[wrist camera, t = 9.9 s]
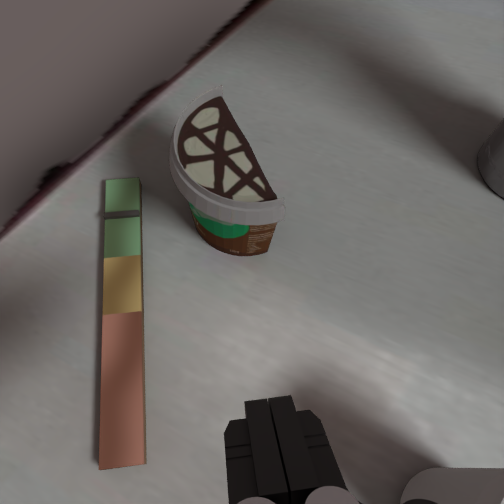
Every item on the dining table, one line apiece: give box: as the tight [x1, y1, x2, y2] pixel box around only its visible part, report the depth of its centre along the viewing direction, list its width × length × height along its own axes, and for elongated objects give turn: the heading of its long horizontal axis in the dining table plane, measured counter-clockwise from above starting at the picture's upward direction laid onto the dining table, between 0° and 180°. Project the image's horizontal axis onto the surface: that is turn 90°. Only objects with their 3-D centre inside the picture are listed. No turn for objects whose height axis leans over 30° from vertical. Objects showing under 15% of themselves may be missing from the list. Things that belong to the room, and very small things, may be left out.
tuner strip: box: [99, 178, 146, 470], centre depth 35 cm, size 3×24×2 cm, turn 7°
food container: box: [169, 85, 285, 256], centre depth 35 cm, size 12×6×10 cm, turn 24°
